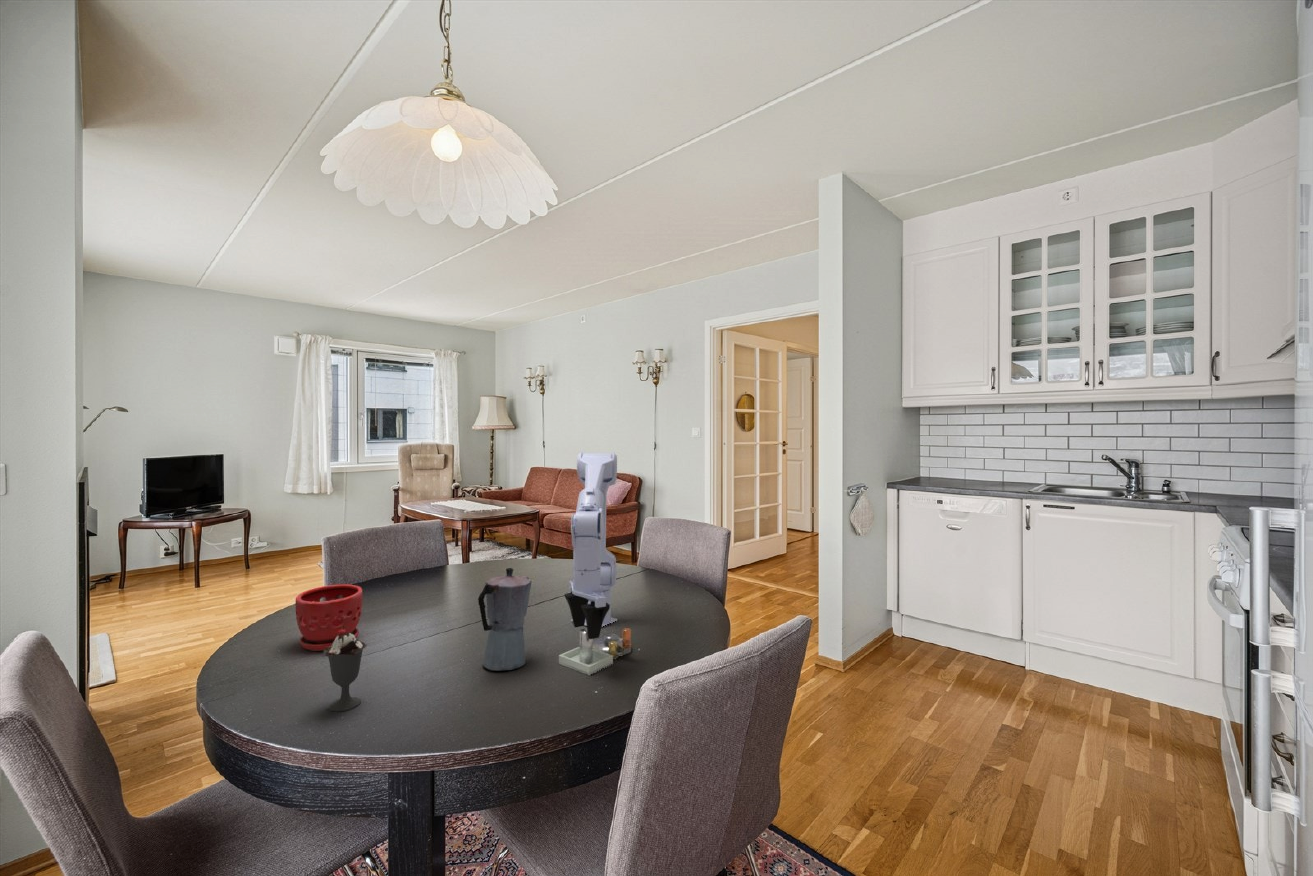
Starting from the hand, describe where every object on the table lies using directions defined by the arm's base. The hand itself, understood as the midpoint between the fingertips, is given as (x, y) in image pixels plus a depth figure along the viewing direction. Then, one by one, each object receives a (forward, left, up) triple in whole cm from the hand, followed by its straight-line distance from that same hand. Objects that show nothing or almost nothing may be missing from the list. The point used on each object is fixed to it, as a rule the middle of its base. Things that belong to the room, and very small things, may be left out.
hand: (586, 632), depth 114 cm
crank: (+2, +8, -5) cm, 10 cm away
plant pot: (-53, -29, -7) cm, 61 cm away
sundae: (-21, -39, -7) cm, 45 cm away
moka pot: (-13, -11, -7) cm, 18 cm away
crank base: (-1, +9, -7) cm, 11 cm away
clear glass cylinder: (0, 0, -6) cm, 6 cm away
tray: (0, 0, -7) cm, 7 cm away
